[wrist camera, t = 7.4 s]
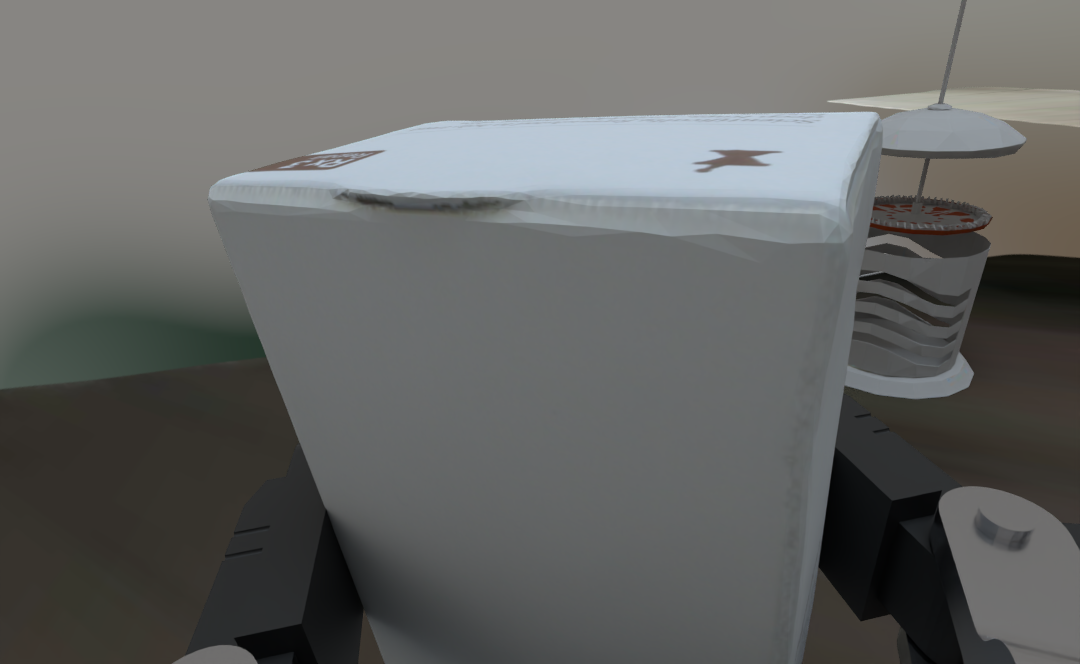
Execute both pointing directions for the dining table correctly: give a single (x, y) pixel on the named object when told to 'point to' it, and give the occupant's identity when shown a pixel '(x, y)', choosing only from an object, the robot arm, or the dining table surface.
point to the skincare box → (568, 373)
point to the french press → (942, 228)
